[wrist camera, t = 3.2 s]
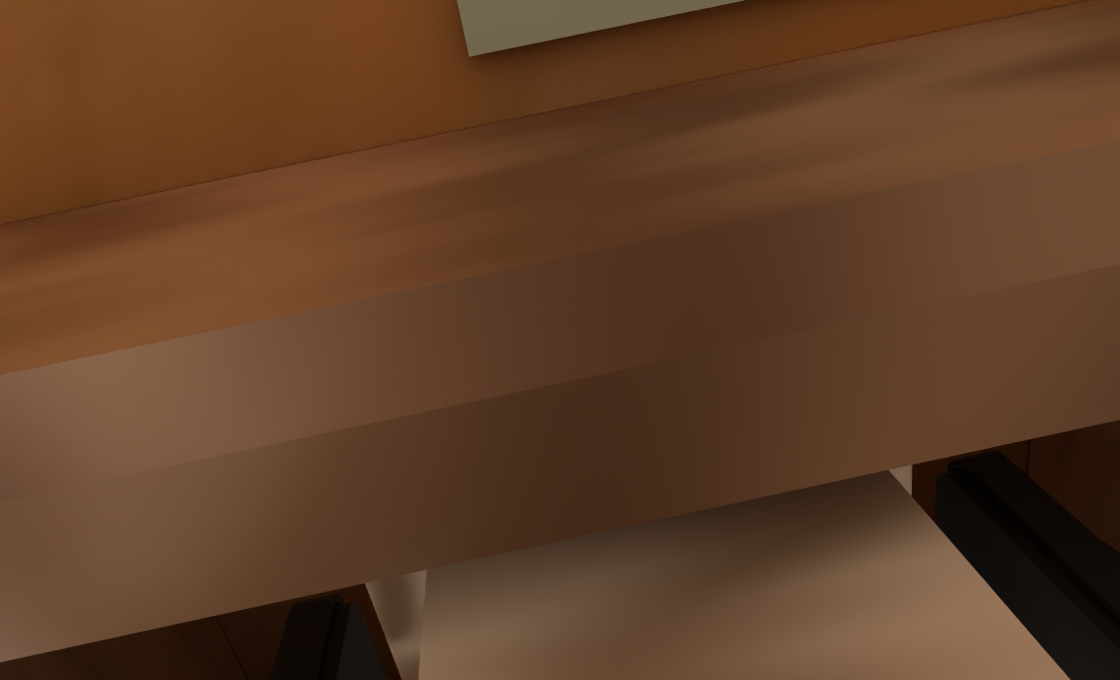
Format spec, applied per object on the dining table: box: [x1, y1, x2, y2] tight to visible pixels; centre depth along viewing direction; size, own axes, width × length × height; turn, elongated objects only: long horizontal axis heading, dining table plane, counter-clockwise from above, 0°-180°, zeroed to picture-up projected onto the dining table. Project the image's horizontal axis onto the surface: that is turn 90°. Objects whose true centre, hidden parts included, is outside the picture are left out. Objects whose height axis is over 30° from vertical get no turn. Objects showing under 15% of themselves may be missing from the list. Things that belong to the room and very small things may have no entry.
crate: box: [0, 0, 1120, 680], centre depth 11 cm, size 18×12×6 cm, turn 100°
